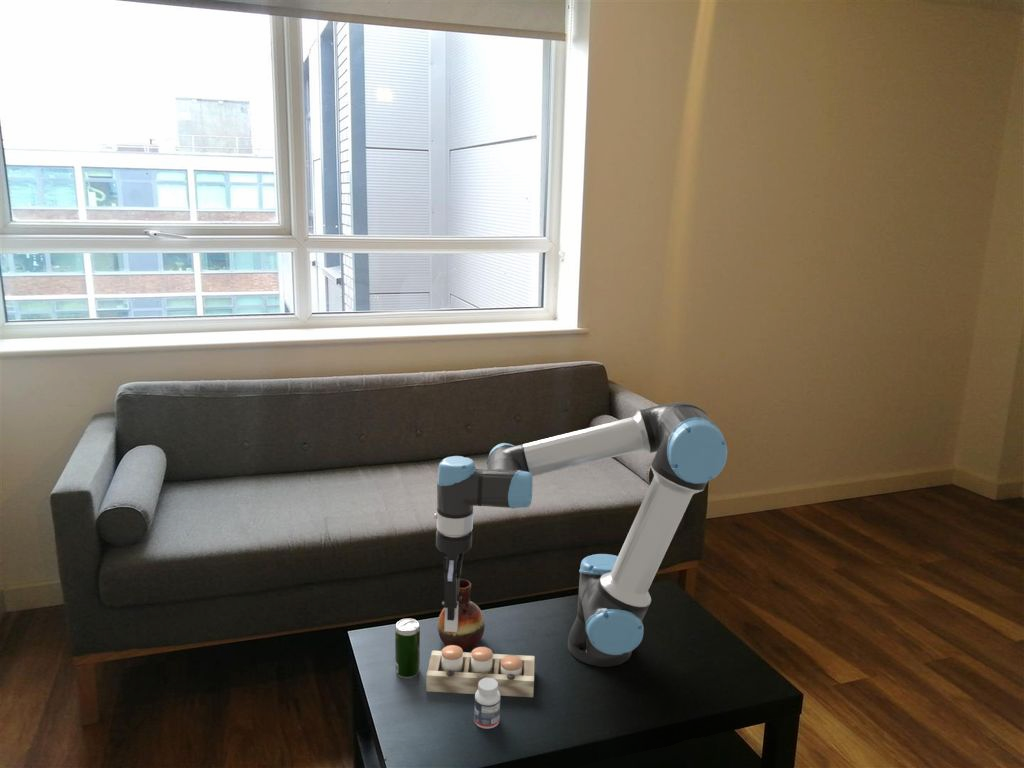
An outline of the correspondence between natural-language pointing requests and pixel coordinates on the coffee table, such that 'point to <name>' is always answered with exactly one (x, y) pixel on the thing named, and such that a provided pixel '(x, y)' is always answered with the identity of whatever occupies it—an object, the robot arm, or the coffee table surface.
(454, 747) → the coffee table surface
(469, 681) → the wooden egg tray
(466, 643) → the vase
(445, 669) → the button
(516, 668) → the button
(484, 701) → the pill bottle
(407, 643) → the beer can
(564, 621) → the coffee table surface
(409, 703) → the coffee table surface
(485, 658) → the button
